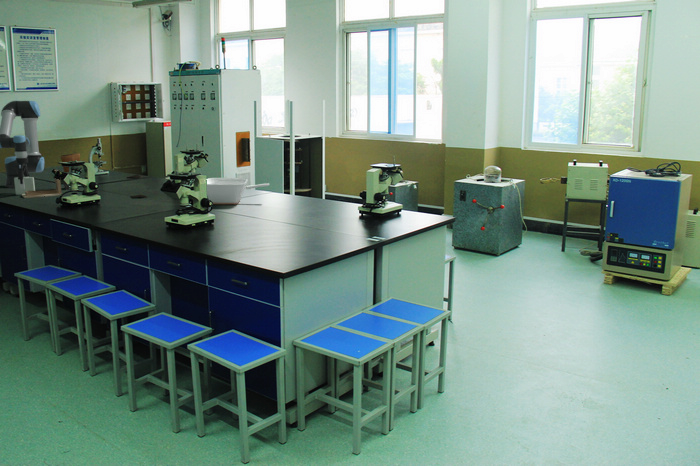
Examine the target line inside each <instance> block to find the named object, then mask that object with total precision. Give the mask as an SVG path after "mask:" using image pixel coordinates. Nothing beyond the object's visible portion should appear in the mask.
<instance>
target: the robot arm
mask: <svg viewBox="0 0 700 466" xmlns="http://www.w3.org/2000/svg"><path fill="white" fill-rule="evenodd" d="M0 116H1V121H0V149H14V153H13V154H14V155H12V156H7V157H5V159H4V167H5V173H6V175H5V176H6V178H5V183H4V185H5V186H4V187H5V188H8V189H9V188H10V189H11V188H12V189H15V182H14V178H18V179H19V182H20V189H25V186H24V179H23V177H30V174H29V173H42V172H43V171H44V168H45V157H44V156H42V154H41V153H40V150H39V136H38V127H37V121H38V120H39V117H41V110H40V105H39V104H38V102H37V101H35V100H11V101H9V102H8V103H6V104H5V105H4V106H3V107H2V109H1V111H0ZM16 117H20V120H22V121H23V128H24V129H23V130H24V134H23V135H22V134H20V135H19V134H18V135H16V134H15V135H13V137H11V136H12V130H13V124H14V120H15V119H16Z"/></svg>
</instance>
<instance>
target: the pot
mask: <svg viewBox="0 0 700 466" xmlns="http://www.w3.org/2000/svg"><path fill="white" fill-rule="evenodd" d="M205 180H207V194H206V196H207V198H208V201H209V200H211V201H212V202H213V204H212V205H237V204H238V203H240V201H241V200H242V196H243V194H244V191H245V189H246V190H250V189H256V188H257V189H258V188H262V187H269V186H270V183H259V184H253V185H247V184H248V180H249V179H248V178H244V177H237V178H236V177H209V178H206V179H205Z"/></svg>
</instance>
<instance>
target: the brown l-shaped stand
mask: <svg viewBox="0 0 700 466" xmlns="http://www.w3.org/2000/svg"><path fill="white" fill-rule="evenodd" d="M56 170H57V171H59V170H58V169H54V171H56ZM54 171H53V172H54ZM54 181H55V188H50V189H38V190H37V189H35V191H25V194H22V195H21V196H22V197H23V198H24V199H30V198H43V197H44V196H45V197H54V196H62V195H63V193H62V183H61V179H60V180H59V179H56V178H55V177H54ZM61 194H62V195H61Z"/></svg>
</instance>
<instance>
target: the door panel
mask: <svg viewBox="0 0 700 466" xmlns="http://www.w3.org/2000/svg"><path fill="white" fill-rule="evenodd" d="M23 179H24V186H25V189H20V182H19V179H18V178H14V182H15V188H14V189H15V191H14V192H15V195H16V196H17V195H19V196H22V194H25V191H35V190H36V187H35V178H34V176H32V177H31V176H29V177H23Z"/></svg>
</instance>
